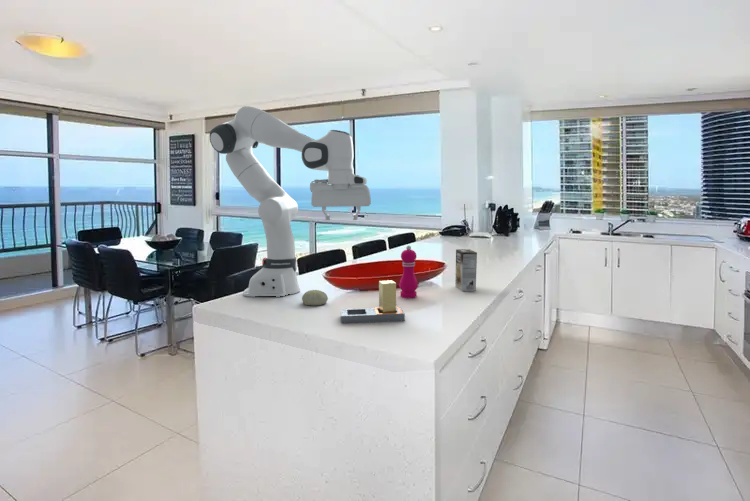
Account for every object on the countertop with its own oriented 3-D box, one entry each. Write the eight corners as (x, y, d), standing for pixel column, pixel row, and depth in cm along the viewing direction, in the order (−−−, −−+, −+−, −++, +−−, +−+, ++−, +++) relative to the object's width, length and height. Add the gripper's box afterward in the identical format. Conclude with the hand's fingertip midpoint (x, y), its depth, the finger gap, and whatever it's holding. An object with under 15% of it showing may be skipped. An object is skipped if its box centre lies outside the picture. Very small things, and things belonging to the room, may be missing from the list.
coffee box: (454, 286, 187) (455, 249, 184) (469, 286, 187) (470, 248, 185) (461, 291, 178) (462, 252, 176) (476, 290, 178) (477, 251, 176)
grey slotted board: (341, 323, 136) (341, 315, 136) (340, 316, 144) (340, 308, 143) (404, 321, 138) (404, 313, 138) (400, 314, 146) (400, 306, 145)
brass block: (382, 320, 139) (382, 283, 137) (379, 316, 143) (379, 281, 141) (396, 319, 140) (396, 282, 138) (391, 315, 144) (391, 280, 142)
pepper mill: (416, 298, 166) (417, 246, 163) (397, 298, 167) (398, 246, 165) (418, 294, 173) (419, 244, 170) (400, 293, 174) (400, 244, 172)
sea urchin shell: (322, 302, 154) (307, 286, 155) (309, 316, 157) (294, 300, 158) (333, 296, 162) (319, 280, 164) (320, 309, 165) (307, 294, 166)
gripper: (309, 179, 143) (310, 221, 145) (371, 178, 145) (371, 220, 147) (310, 179, 150) (311, 219, 151) (369, 179, 152) (369, 219, 153)
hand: (341, 220), depth 149 cm, fingers open, 8 cm apart
